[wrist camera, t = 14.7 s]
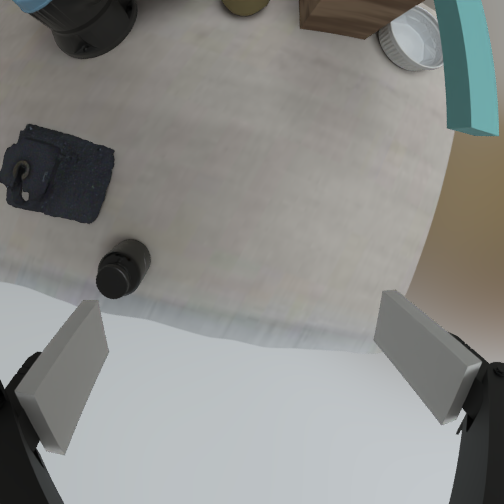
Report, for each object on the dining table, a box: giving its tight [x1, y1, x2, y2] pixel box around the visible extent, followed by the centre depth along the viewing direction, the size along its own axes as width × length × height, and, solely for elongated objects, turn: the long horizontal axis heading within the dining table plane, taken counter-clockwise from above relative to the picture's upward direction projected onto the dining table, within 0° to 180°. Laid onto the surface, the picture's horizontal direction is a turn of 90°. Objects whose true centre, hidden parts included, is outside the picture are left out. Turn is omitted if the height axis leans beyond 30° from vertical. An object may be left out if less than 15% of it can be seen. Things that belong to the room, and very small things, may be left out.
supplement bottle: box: [96, 240, 151, 299], centre depth 46 cm, size 7×7×12 cm
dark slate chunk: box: [0, 124, 114, 224], centre depth 44 cm, size 15×22×5 cm
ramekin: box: [379, 5, 444, 71], centre depth 42 cm, size 13×13×7 cm
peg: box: [434, 0, 499, 136], centre depth 16 cm, size 23×5×4 cm, turn 179°
